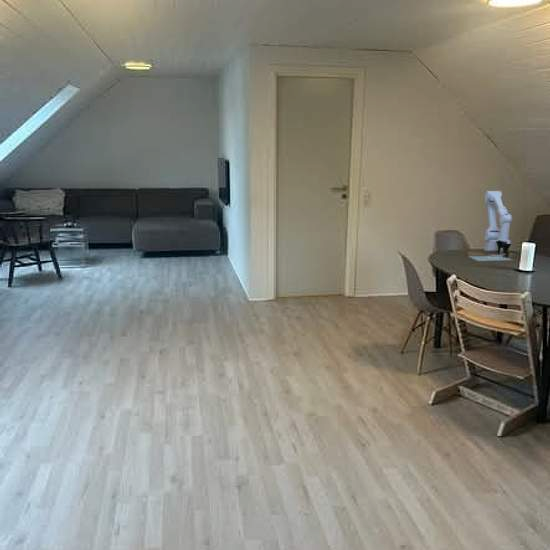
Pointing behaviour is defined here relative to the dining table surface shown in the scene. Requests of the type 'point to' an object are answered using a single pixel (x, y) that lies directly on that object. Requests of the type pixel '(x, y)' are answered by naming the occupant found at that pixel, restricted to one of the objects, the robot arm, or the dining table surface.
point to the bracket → (498, 254)
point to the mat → (488, 258)
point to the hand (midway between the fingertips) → (502, 252)
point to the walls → (486, 252)
